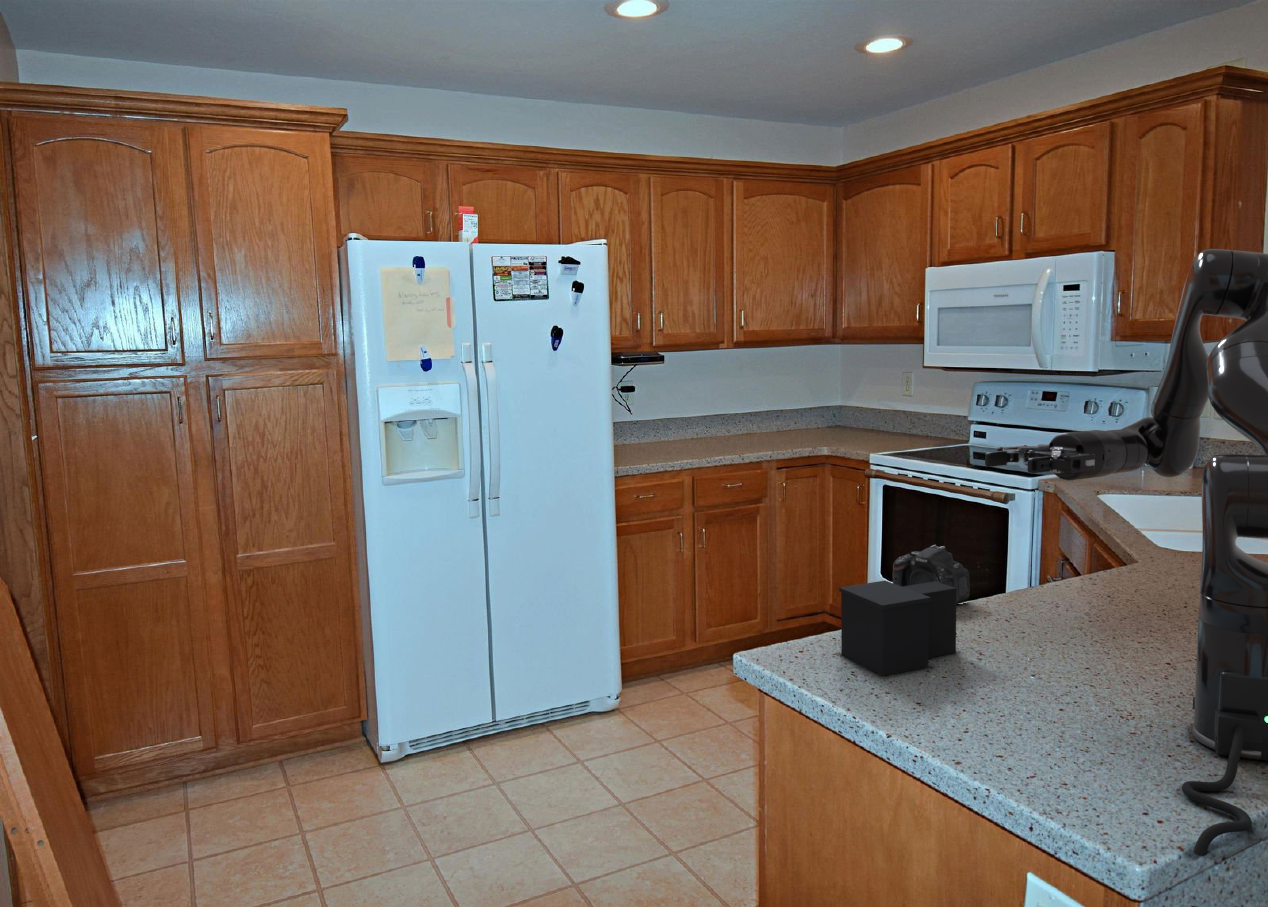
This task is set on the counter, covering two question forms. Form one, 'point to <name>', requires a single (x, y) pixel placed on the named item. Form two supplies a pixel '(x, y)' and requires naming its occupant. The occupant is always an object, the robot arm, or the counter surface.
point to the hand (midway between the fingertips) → (1007, 462)
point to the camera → (932, 570)
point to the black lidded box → (885, 627)
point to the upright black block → (940, 617)
